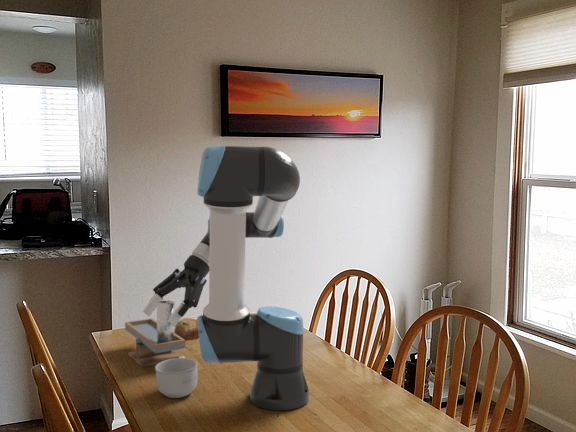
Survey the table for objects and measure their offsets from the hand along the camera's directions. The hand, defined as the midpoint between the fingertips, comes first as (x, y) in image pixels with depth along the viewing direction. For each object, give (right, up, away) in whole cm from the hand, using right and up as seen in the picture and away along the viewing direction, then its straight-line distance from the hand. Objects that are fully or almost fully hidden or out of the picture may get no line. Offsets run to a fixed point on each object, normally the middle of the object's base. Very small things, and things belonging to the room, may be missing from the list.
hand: (158, 319), depth 174 cm
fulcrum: (-4, -14, +11) cm, 18 cm away
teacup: (+9, -17, -15) cm, 24 cm away
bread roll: (+4, -12, +33) cm, 35 cm away
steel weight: (+2, -7, +2) cm, 8 cm away
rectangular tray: (-3, -8, +10) cm, 13 cm away
